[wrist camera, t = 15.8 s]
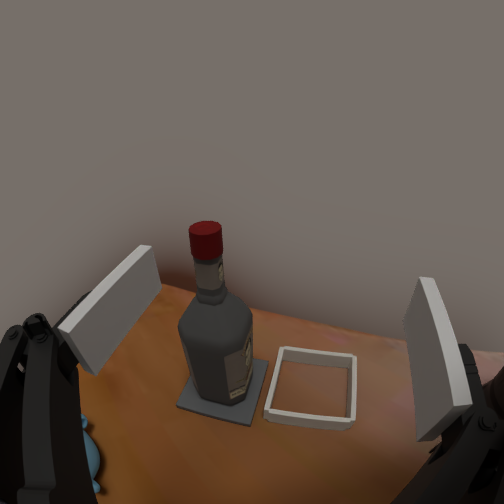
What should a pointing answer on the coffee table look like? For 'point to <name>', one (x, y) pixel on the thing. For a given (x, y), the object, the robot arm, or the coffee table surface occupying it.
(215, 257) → the liquor
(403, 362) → the coffee table surface
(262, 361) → the slate coaster
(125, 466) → the coffee table surface
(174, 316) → the coffee table surface
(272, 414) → the bottle holder
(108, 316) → the robot arm
